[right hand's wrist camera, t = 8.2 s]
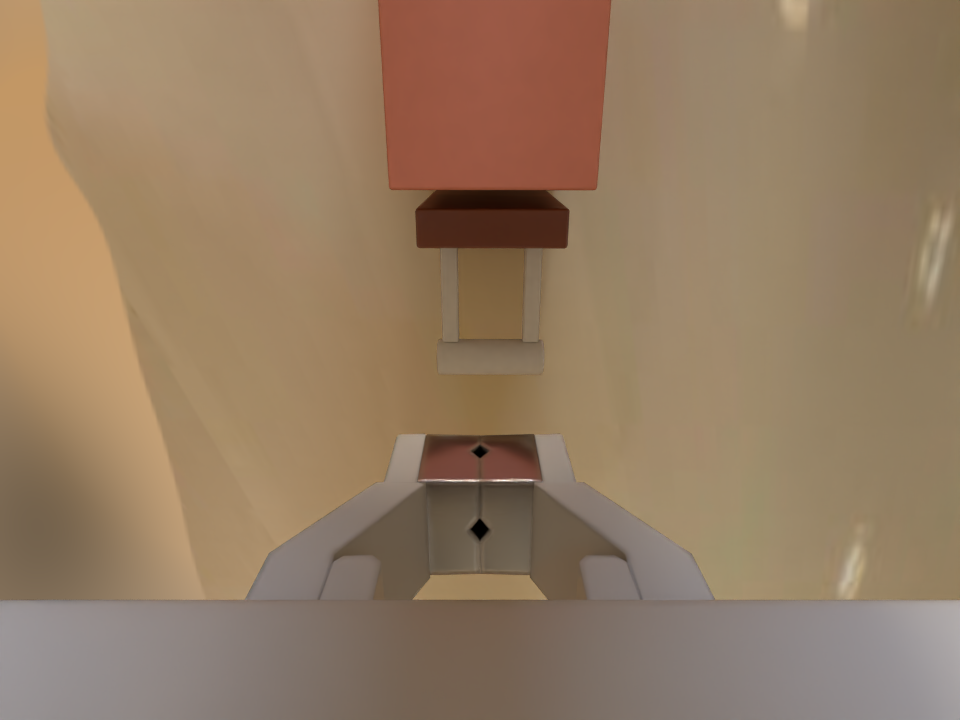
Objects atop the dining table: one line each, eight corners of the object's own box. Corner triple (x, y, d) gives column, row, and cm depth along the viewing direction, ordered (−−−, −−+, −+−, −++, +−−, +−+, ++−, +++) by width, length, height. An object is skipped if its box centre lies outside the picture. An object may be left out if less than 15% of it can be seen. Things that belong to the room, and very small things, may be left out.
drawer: (537, 327, 26) (558, 403, 19) (441, 327, 26) (423, 402, 19) (565, -331, 18) (622, -678, 10) (423, -330, 18) (377, -674, 10)
